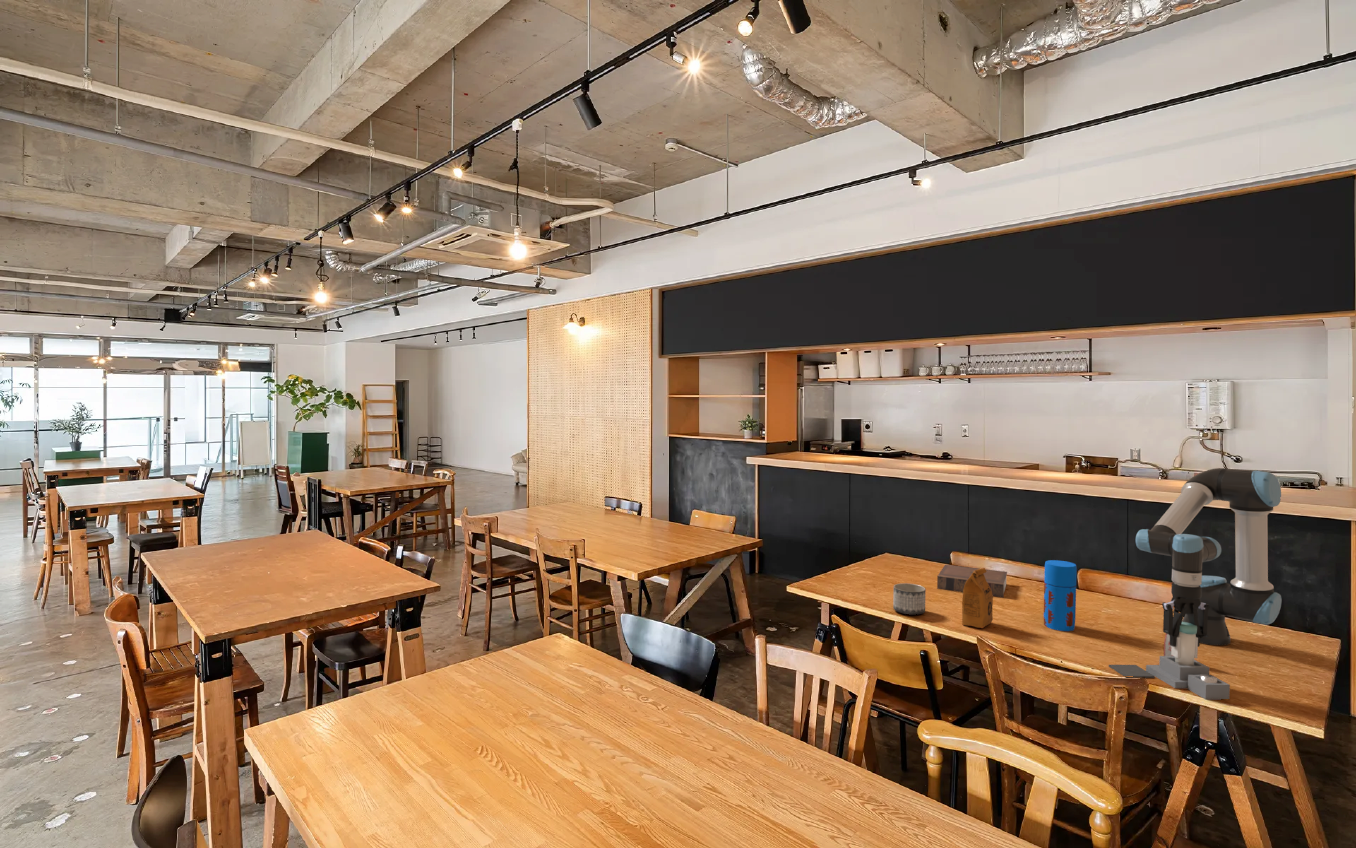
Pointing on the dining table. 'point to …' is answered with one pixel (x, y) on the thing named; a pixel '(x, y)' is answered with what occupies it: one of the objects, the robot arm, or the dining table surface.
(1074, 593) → the thermos
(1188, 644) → the white and teal cylinder
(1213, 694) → the housing
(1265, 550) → the robot arm
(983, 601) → the coffee package
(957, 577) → the book
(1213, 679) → the shiny grey domed cylinder
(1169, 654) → the white printed box
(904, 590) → the planter
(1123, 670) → the mat
